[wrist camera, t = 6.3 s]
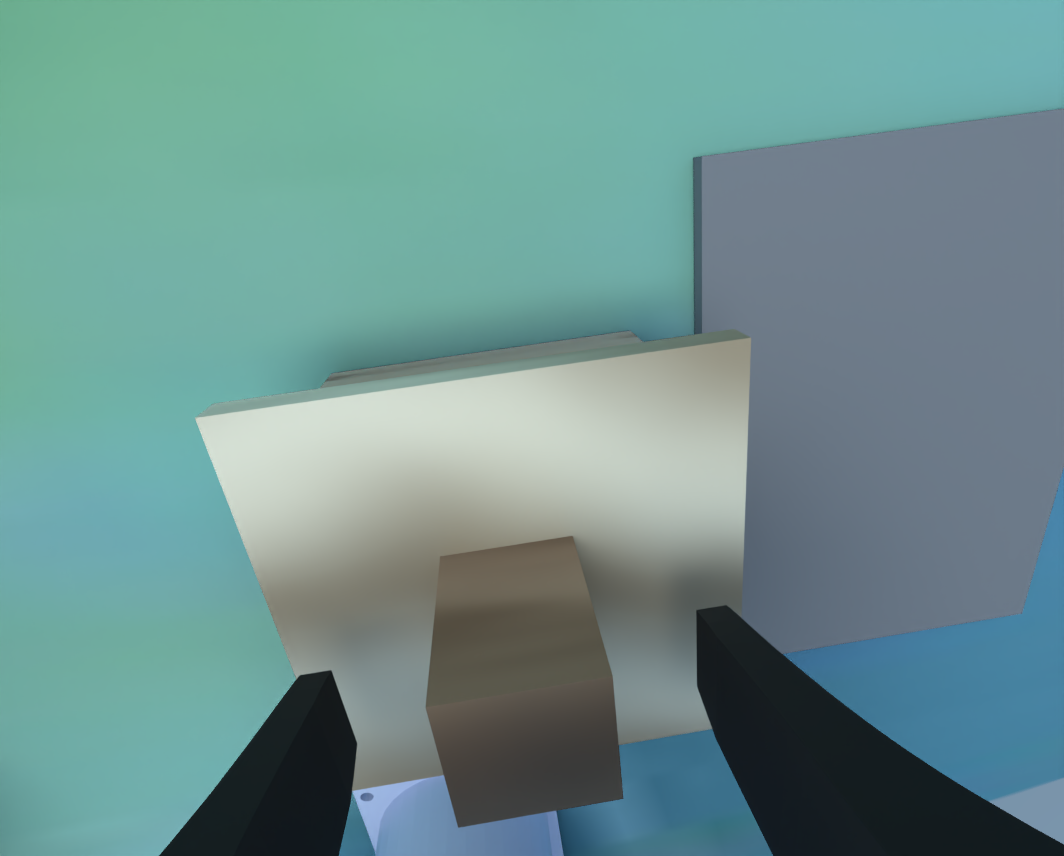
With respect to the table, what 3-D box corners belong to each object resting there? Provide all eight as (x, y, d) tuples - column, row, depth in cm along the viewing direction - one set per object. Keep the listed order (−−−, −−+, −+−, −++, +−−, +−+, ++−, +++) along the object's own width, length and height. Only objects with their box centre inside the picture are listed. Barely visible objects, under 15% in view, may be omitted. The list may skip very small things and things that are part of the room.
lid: (725, 700, 16) (819, 889, 12) (346, 765, 16) (296, 985, 11) (733, 328, 12) (887, 407, 7) (212, 404, 11) (48, 533, 7)
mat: (1008, 603, 23) (1021, 613, 22) (696, 655, 22) (702, 667, 22) (1144, 98, 16) (1169, 94, 15) (693, 158, 15) (701, 156, 15)
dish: (642, 571, 20) (691, 681, 16) (397, 611, 20) (374, 735, 15) (629, 330, 17) (688, 380, 12) (331, 373, 16) (276, 442, 12)
